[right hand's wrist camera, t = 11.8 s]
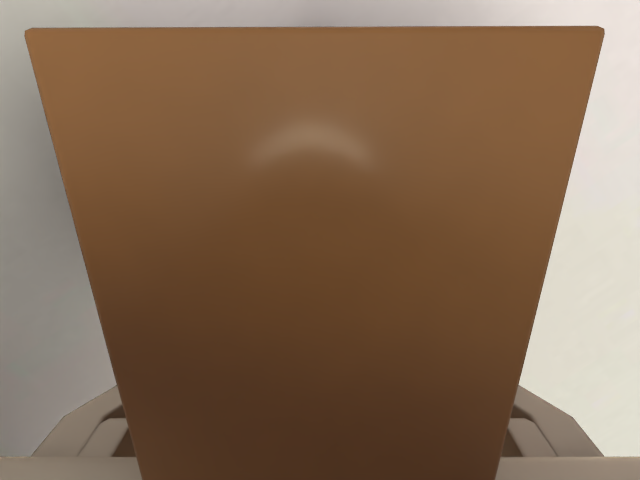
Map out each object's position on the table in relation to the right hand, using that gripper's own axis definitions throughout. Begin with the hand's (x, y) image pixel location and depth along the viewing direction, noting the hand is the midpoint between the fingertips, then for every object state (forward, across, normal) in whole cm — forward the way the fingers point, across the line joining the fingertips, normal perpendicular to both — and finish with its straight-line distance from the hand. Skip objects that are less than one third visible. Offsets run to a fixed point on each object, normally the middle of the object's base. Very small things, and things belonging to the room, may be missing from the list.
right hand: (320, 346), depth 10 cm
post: (+3, 0, -27) cm, 27 cm away
